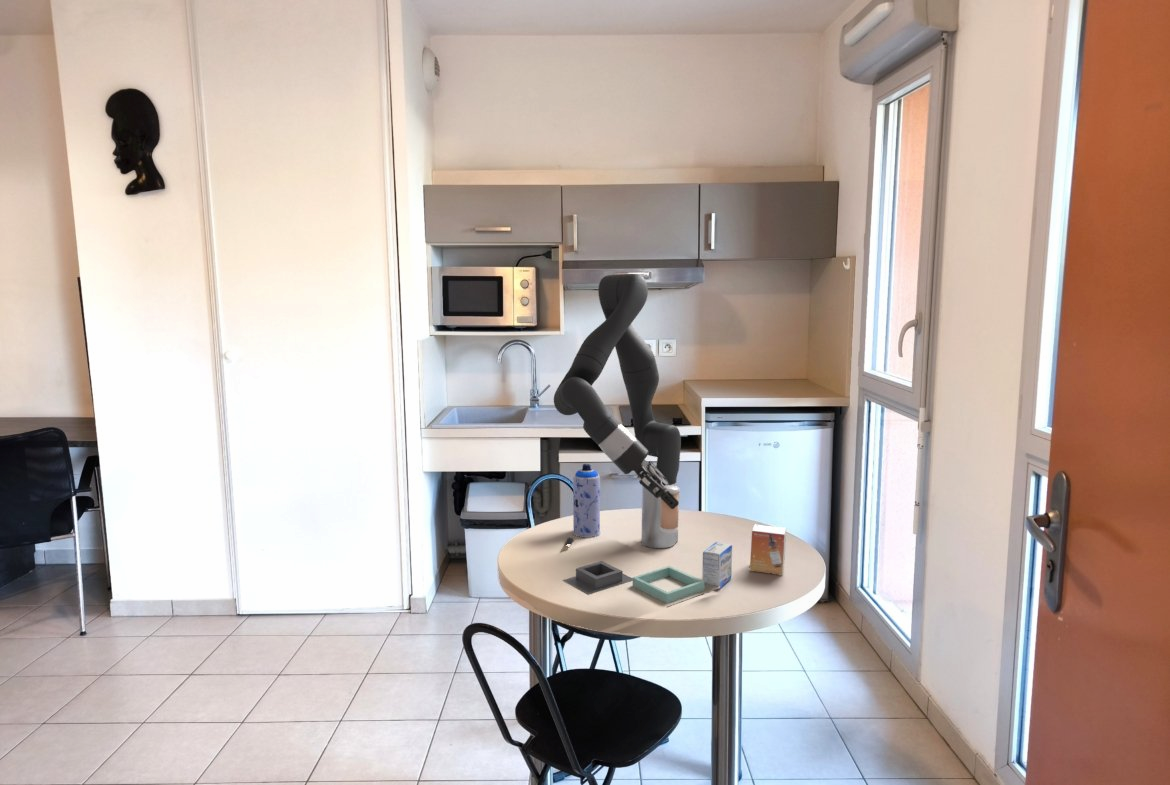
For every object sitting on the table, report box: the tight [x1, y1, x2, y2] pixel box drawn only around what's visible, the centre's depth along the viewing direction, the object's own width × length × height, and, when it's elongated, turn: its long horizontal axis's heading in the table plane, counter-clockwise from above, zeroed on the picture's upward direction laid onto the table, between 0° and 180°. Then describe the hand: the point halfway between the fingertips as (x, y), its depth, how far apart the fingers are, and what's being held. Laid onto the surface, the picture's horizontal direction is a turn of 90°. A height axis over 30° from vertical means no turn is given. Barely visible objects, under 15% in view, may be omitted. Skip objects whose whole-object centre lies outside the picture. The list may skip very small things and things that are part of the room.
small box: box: [749, 524, 787, 576], centre depth 179 cm, size 8×6×10 cm
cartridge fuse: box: [660, 485, 680, 534], centre depth 163 cm, size 4×4×10 cm
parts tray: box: [632, 565, 705, 608], centre depth 166 cm, size 12×12×3 cm
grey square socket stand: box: [562, 560, 633, 596], centre depth 170 cm, size 14×10×4 cm
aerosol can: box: [572, 463, 601, 539], centre depth 204 cm, size 8×8×20 cm
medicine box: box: [701, 541, 733, 591], centre depth 171 cm, size 8×4×9 cm, turn 148°
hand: (675, 502), depth 163 cm, fingers closed on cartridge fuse, 4 cm apart
